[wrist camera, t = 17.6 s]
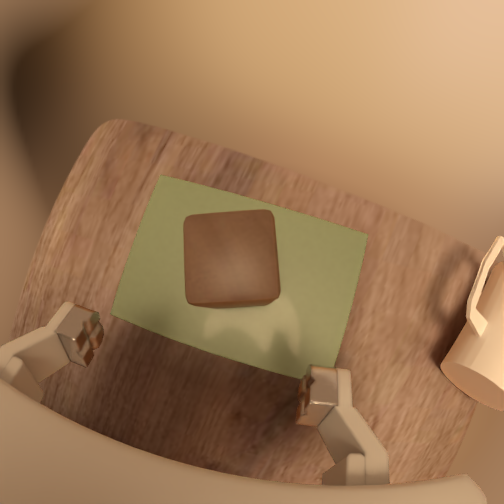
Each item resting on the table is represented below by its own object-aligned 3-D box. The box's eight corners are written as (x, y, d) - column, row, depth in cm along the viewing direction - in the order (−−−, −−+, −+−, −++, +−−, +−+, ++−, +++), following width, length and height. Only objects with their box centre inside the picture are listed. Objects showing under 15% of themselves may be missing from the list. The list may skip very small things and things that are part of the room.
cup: (405, 325, 20) (462, 229, 22) (458, 393, 22) (503, 311, 23) (489, 351, 12) (539, 223, 14) (519, 420, 14) (563, 320, 15)
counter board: (125, 314, 23) (109, 314, 20) (170, 189, 25) (160, 174, 22) (319, 377, 22) (327, 385, 19) (355, 243, 24) (368, 234, 21)
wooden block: (266, 245, 21) (274, 205, 13) (271, 305, 20) (282, 300, 12) (208, 250, 21) (180, 212, 13) (211, 309, 20) (183, 306, 12)
